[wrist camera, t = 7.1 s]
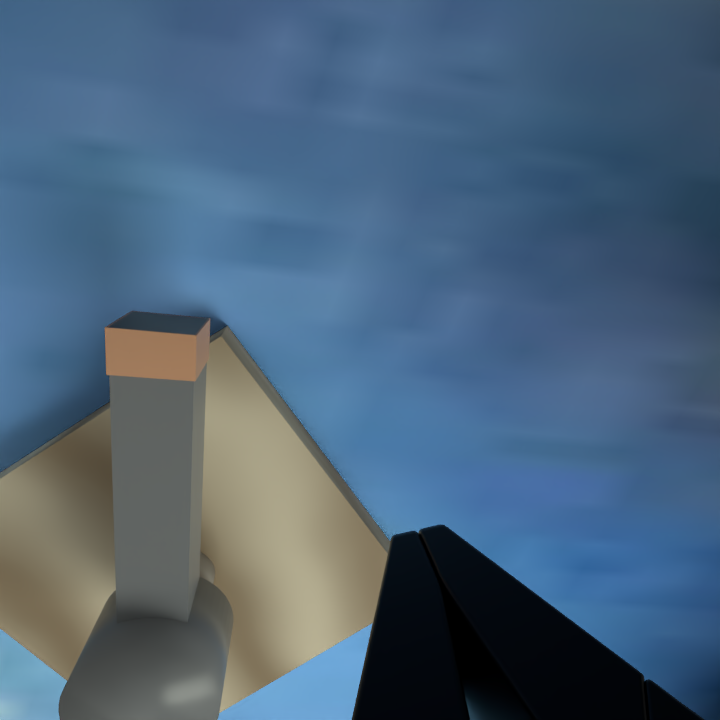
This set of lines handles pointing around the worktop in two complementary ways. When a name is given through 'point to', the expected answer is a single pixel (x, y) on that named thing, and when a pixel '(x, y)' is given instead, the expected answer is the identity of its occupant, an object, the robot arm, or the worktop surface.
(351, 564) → the stud base
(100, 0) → the worktop surface
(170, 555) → the grey elongated piece
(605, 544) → the worktop surface
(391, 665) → the robot arm
